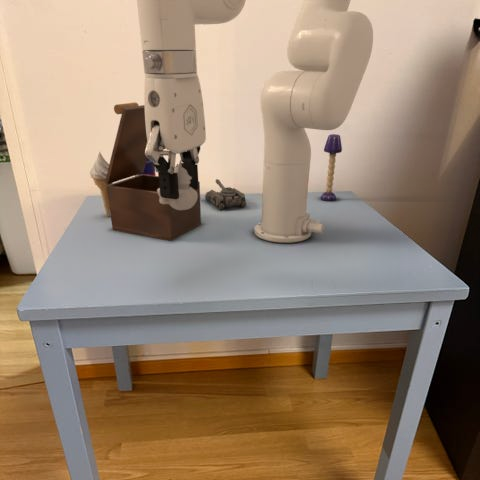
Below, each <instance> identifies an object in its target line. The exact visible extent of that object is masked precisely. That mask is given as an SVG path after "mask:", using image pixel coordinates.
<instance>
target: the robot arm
mask: <svg viewBox="0 0 480 480" xmlns="http://www.w3.org/2000/svg"><path fill="white" fill-rule="evenodd" d="M246 1H247V0H136V5H137V15H138V23H139V34H140V43H141V54H142V63H143V72H144V86H143V87H144V92H143V94H144V95H143V96H144V98H143V99H144V103H143V105H144V106H145V124H146V134H147V141H148V143H147V147H146V150H145V156H146V157H147V158H148V159H149V160H150V161H151V162H152V164H153V165H154V166H155V173H157V176H158V177H159V187H160V196H161V197H162V198H169V199H178V198H179V187H178V175H177V173H174V171H175V166H176V158H177V157H176V156H177V155H178V154H179V157H180V160H181V163H182V167H183V168H184V169H186V170H187V173H188V175H189V176H191V177H192V179H191V180H190V182H191V183H190V184H189V186H190V187H192V188H193V189H194V190H196V189H198V188H199V183H198V181H199V165H198V164H199V162H200V157H199V154H200V152H201V146H203V145H204V143H206V140H207V133H206V131H207V130H206V119H205V110H204V99H203V93H202V88H201V81H200V78H199V75H198V64H197V63H198V62H197V49H196V48H197V44H196V42H197V41H196V25H203V26H204V25H220V24H226V23H229V22H231V21H232V20H234V19H236V18H237V17H238V16H239V15H240V14H241V12H242V11H243V9H244V7H245V5H246ZM350 3H351V0H302V3H301V6H300V8H299V11H298V14H297V16H296V19H295V21H294V24H293V28H292V31H291V33H290V36H289V39H288V42H287V48H286V56H287V60H288V63H289V64H290V65H291V66H292V67H293V68H294V69H297V70H281V71H277V72H275V73H273V74H271V75H270V76H269V77H268V78H267V79H266V80H265V81H264V82H263V85H262V88H261V91H260V111H261V119H262V125H263V167H262V169H263V171H262V197H261V199H262V200H261V222H259V223H256V225H254V227H253V233H254V235H255V236H256V237H258V238H259V239H261V240H264V241H268V242H272V243H280V244H290V243H291V244H292V243H299V242H303V241H305V240H308V239H309V238H310V237H311V236H312V232H313V233H314V234H323V232H324V230H325V225H324V224H323V223H322V221H319V220H312V218H310V215H311V213H310V212H307V206H308V205H307V203H308V193H309V182H310V181H309V180H310V168H311V159H312V148H311V142H310V139H309V136H308V134H307V132H306V129H311V130H319V131H332V130H336V129H338V128H340V127H341V126H342V125H343V124H344V122H345V121H346V119H347V117H348V115H349V114H350V112H351V109H352V106H353V103H354V102H355V98H356V96H357V93H358V90H359V88H360V85H361V83H362V80H363V78H364V76H365V72H366V70H367V68H368V64H369V61H370V60H371V59H370V58H371V55H372V51H373V45H374V30H373V25H372V22H371V20H370V19H369V17H368V16H367V15H366V14H364V13H362V12H361V11H353V10H349V11H348V9H349V6H350ZM164 156H167V160H166V158H165V157H164Z"/></svg>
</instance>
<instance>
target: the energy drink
mask: <svg viewBox="0 0 480 480" xmlns="http://www.w3.org/2000/svg"><path fill="white" fill-rule="evenodd" d="M156 173H157V172H156V170H155V166H154V165H153V164H152V162H151V161H150V160H149V159H148V158H147V162H146V165H145V168H144V171H143V173H141V174H145V175H153V176H157V175H156ZM141 174H138V175H141ZM138 175H135V176H138ZM135 176H134V177H135Z"/></svg>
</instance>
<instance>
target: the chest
mask: <svg viewBox="0 0 480 480" xmlns="http://www.w3.org/2000/svg"><path fill="white" fill-rule="evenodd" d="M198 183H199V188H198V189H196V190H195V191H196V192H197V195H198V197H197V201H196V203H195V204H194V206H193V207H191V208H190V209H187V210H176V209H174V208H173V207H171V206H170V205H169V204H161V203H160V202H159V199H160V197H159V195H158V193H157V190H158V189H159V188H160V187H159V177H158V175H156V176H153V175H145V174H141V175H138V176H132V177H129V178H126V179H122V180H119V181H116V182H113V184H110V185H107V193H108V200H109V207H110V221H111V230H113V231H117V232H120V233H121V232H123V233H126V234H132V235H137V236H143V237H147V238H152V239H159V240H163V241H168V242H172V241H174V240H176V239H178V238H180V237H181V236H183V235H185V234H187V233H189V232H190V231H192V230H194V229H195V228H197V227H199V226H201V225H202V215H201V212H202V211H201V186H200V185H201V183H200V181H199V180H198Z"/></svg>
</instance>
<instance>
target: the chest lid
mask: <svg viewBox="0 0 480 480" xmlns="http://www.w3.org/2000/svg"><path fill="white" fill-rule="evenodd" d="M113 111H114V113H115V114H116V115H120V120H119V123H118V128H117V132H116V135H115V140H114V144H113V148H112V152H111V156H110V160H109V163H108V164H109V168H108V172H107V176H106V180H105V183H106V184H110V183H116V182H120V181H123V180H126V179H129V178H132V177H135V175H138V174H141V173H143V171H144V168H145V165H146V162H147V157H146V156H145V150H146V147H147V143H148V141H147V134H146V124H145V106H144V104H142V105H139V103H137V102H127V103H119V104H115V105H114V106H113Z"/></svg>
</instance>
